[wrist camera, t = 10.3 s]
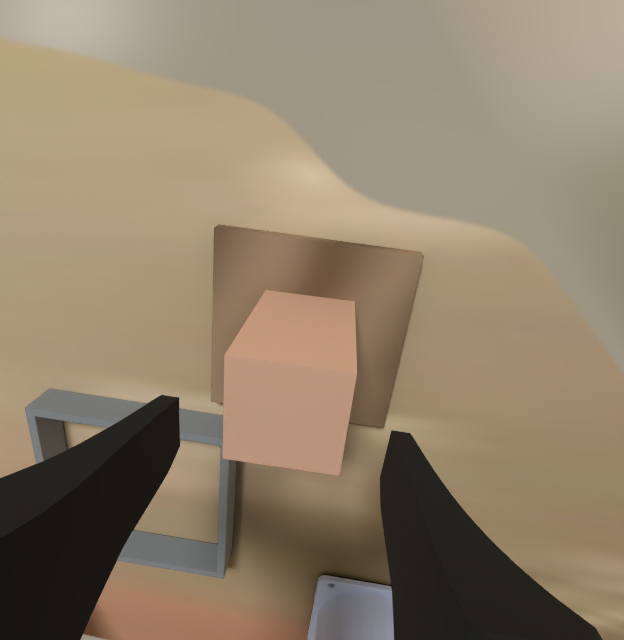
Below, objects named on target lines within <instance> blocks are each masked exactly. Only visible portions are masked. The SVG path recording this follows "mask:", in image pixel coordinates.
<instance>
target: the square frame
mask: <svg viewBox="0 0 624 640" xmlns="http://www.w3.org/2000/svg"><path fill="white" fill-rule="evenodd" d="M144 405H146V404H145V403H139V402H132V401H126V400H119V399H113V398H106V397H100V396H93V395H87V394H80V393H74V392H67V391H61V390H55V389H48V390H47V391H46V392H44V393H43V394H42V395H41V396H39V397H38V398H37V399H35V400H34V401H33V402H31V403H30V404H29V405H28V406H26V407H25V411H26V416H27V421H28V426H29V431H30V435H31V440H32V445H33V450H34V454H35V459H36V464H38V463H40V462H42V461H45V460H47V459H49V458H51V457H53V456H56V455H58V454H60V453H62V452H64V451H66V450H67V446H66V440H65V434H64V428H63V422H62V421H68V422H75V423H81V424H87V425H94V426H100V427H106V428H109V427H110V426H112V425H114V424H115V423H117V422H119V421H120V420H122V419H124V418H125V417H127V416H128V415H130V414H132V413H133V412H135V411H136V410H138V409H140V408H141V407H143V406H144ZM179 424H180V439H183V440H189V441H195V442H202V443H208V444H214V445H221V455H220V487H219V519H218V544H212V543H206V542H200V541H194V540H188V539H182V538H176V537H170V536H164V535H158V534H152V533H146V532H140V531H134V530H133V531H132V533H131V535H130V536H129V538H128V540H127V542H126V543H125V545H124V547H123V549H122V551H121V553H120V555H119V557H118V559H117V561H123V562H129V563H135V564H140V565H146V566H152V567H158V568H164V569H170V570H176V571H181V572H187V573H193V574H199V575H205V576H211V577H217V578H222V579H224V576H225V573H226V570H227V566H228V563H229V560H230V556H231V553H232V541H233V522H234V504H235V485H236V466H237V461H235V460H229V459H223V416H222V415H216V414H210V413H203V412H197V411H190V410H184V409H179Z"/></svg>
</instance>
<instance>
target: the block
mask: <svg viewBox="0 0 624 640" xmlns="http://www.w3.org/2000/svg"><path fill="white" fill-rule="evenodd" d="M356 377H357V352H356V320H355V301H347V300H340V299H332V298H324V297H316V296H308V295H301V294H293V293H285V292H277V291H269V290H265V292H264V293H263V295H262V297H261V298H260V300H259V301H258V303H257V305H256V306H255V308H254V309H253V311H252V312H251V314H250V316H249V317H248V319H247V320H246V322H245V323H244V325H243V327H242V328H241V330H240V331H239V333H238V335H237V336H236V338H235V339H234V341H233V342H232V344H231V346H230V347H229V349H228V350H227V352H226V354H225V355H224V407H223V459H229V460H235V461H242V462H249V463H256V464H263V465H269V466H276V467H283V468H290V469H296V470H303V471H310V472H317V473H323V474H330V475H337V476H340V470H341V464H342V459H343V453H344V447H345V441H346V435H347V430H348V424H349V418H350V412H351V406H352V400H353V395H354V389H355V383H356Z"/></svg>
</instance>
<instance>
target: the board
mask: <svg viewBox="0 0 624 640" xmlns="http://www.w3.org/2000/svg"><path fill="white" fill-rule="evenodd" d="M423 258H424V256H423V254H422V253H421V252H416V251H408V250H401V249H394V248H386V247H379V246H372V245H364V244H357V243H350V242H342V241H335V240H328V239H320V238H313V237H306V236H298V235H291V234H284V233H276V232H269V231H262V230H254V229H247V228H240V227H232V226H225V225H218V226H216V227H214V261H213V317H212V373H211V402H217V403H224V355H225V354H226V352H227V350H228V349H229V347H230V346H231V344H232V342H233V341H234V339H235V338H236V336H237V335H238V333H239V331H240V330H241V328H242V327H243V325H244V323H245V322H246V320H247V319H248V317H249V316H250V314H251V312H252V311H253V309H254V308H255V306H256V305H257V303H258V301H259V300H260V298H261V297H262V295H263V293H264V292H265V290H269V291H277V292H285V293H293V294H301V295H308V296H316V297H324V298H332V299H340V300H347V301H355V320H356V352H357V377H356V383H355V389H354V395H353V400H352V406H351V412H350V418H349V423H354V424H361V425H367V426H374V427H380V428H384V424H385V419H386V415H387V411H388V407H389V402H390V398H391V394H392V390H393V385H394V381H395V377H396V373H397V368H398V364H399V360H400V356H401V351H402V347H403V343H404V339H405V334H406V330H407V326H408V322H409V317H410V313H411V309H412V305H413V300H414V296H415V292H416V288H417V283H418V279H419V275H420V270H421V266H422V262H423Z"/></svg>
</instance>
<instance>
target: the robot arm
mask: <svg viewBox="0 0 624 640" xmlns="http://www.w3.org/2000/svg"><path fill="white" fill-rule="evenodd" d="M179 447H180V424H179V398H178V397H171V396H165V395H161V396H159V397H157V398H156V399H154V400H152V401H151V402H149V403H147V404H146V405H144V406H143V407H141V408H140V409H138V410H136V411H135V412H133V413H132V414H130V415H128V416H127V417H125V418H124V419H122V420H120V421H119V422H117V423H115V424H114V425H112V426H110V427H109V428H107V429H105V430H103V431H102V432H100V433H98V434H96V435H94V436H93V437H91V438H89V439H87V440H85V441H84V442H82V443H80V444H78V445H76V446H74V447H72V448H70V449H68V450H66V451H64V452H62V453H60V454H58V455H56V456H53V457H51V458H49V459H47V460H45V461H42V462H40V463H38V464H35V465H33V466H30V467H28V468H25V469H23V470H20V471H18V472H15V473H13V474H10V475H8V476H5V477H2V478H0V640H80V639H81V637H82V635H83V632H84V630H85V628H86V626H87V623H88V621H89V619H90V616H91V614H92V612H93V610H94V608H95V606H96V603H97V601H98V599H99V597H100V595H101V593H102V590H103V588H104V586H105V584H106V582H107V580H108V578H109V576H110V574H111V571H112V569H113V567H114V565H115V563H116V561H117V559H118V557H119V555H120V553H121V551H122V549H123V547H124V545H125V543H126V542H127V540H128V538H129V536H130V535H131V533H132V531H133V530H134V528H135V526H136V525H137V523H138V521H139V520H140V518H141V516H142V515H143V513H144V512H145V510H146V508H147V507H148V505H149V503H150V502H151V500H152V498H153V497H154V495H155V494H156V492H157V490H158V489H159V487H160V485H161V484H162V482H163V480H164V479H165V477H166V475H167V473H168V471H169V469H170V467H171V465H172V463H173V461H174V458H175V456H176V454H177V451H178V449H179ZM380 500H381V514H382V521H383V528H384V536H385V543H386V550H387V557H388V564H389V571H390V579H391V586H387V585H381V584H375V583H369V582H363V581H357V580H351V579H345V578H339V577H334V576H328V575H322V576H320V577H319V578H318V582H317V587H316V592H315V598H314V603H313V608H312V613H311V619H310V624H309V629H308V635H307V640H602V638H601V636H600V635H599V633H598V631H597V630H596V628H595V627H593V626H592V625H591V624H589V623H588V622H587V621H585V620H584V619H583V618H581V617H580V616H579V615H577V614H576V613H575V612H573V611H572V610H571V609H570V608H568V607H567V606H566V605H564V604H563V603H562V602H560V601H559V600H558V599H556V598H555V597H554V596H552V595H551V594H550V593H549V592H548V591H546V590H545V589H544V588H543V587H542V586H540V585H539V584H538V583H537V582H536V581H534V580H533V579H532V578H531V577H530V576H529V575H527V574H526V573H525V572H524V571H523V570H522V569H521V568H520V567H518V566H517V565H516V564H515V563H514V562H513V561H512V560H511V559H510V558H509V557H508V556H507V555H506V554H505V553H504V552H502V551H501V550H500V549H499V548H498V547H497V546H496V545H495V544H494V543H493V542H492V541H491V540H490V539H489V538H488V537H487V536H486V535H485V533H484V532H483V531H482V530H481V529H480V528H479V527H478V526H477V525H476V524H475V522H474V521H473V520H472V519H471V518H470V517H469V516H468V515H467V513H466V512H465V511H464V510H463V509H462V508H461V506H460V505H459V504H458V502H457V501H456V500H455V499H454V497H453V496H452V495H451V493H450V492H449V491H448V489H447V488H446V487H445V485H444V484H443V482H442V481H441V480H440V478H439V477H438V475H437V474H436V472H435V471H434V469H433V468H432V466H431V465H430V463H429V462H428V460H427V459H426V457H425V456H424V454H423V453H422V451H421V449H420V448H419V446H418V445H417V443H416V441H415V440H414V438H413V437H412V435H411V434H410V433H405V432H398V431H391V435H390V439H389V443H388V447H387V451H386V456H385V460H384V464H383V468H382V472H381V476H380Z"/></svg>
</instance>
